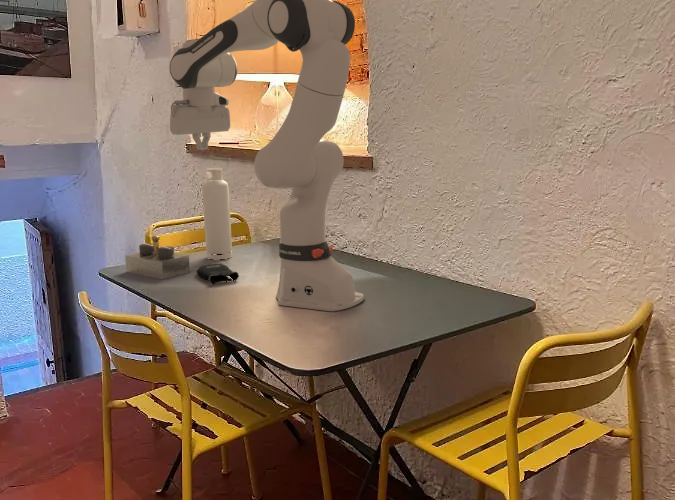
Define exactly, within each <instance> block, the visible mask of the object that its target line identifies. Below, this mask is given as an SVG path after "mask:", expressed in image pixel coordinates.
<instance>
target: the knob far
mask: <svg viewBox="0 0 675 500" xmlns="http://www.w3.org/2000/svg"><path fill="white" fill-rule="evenodd" d="M138 249H139V252H140V255H152V254H154V247H153V242H152V243H146V242H143V243H141V244H139V245H138Z"/></svg>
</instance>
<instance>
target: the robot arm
mask: <svg viewBox="0 0 675 500" xmlns="http://www.w3.org/2000/svg"><path fill="white" fill-rule="evenodd" d="M355 28H356V20H355V16H354V13H353V11H352V9H350V8H349V7H348V6H347V5H346V4H344V3H341V2H339V1H336V0H254V1H253V2H252V3H250V4H249V5H248V6H246V7H245V8H244V9H242V10H241V11H240V12H238V13H236V14H235V15H233V16H232V17H230V18H229V19H226V20H225V21H223V22H221V23H219V24H217V25H216V26H215V27H213V28H212V29H211V30H210V31H209V30H208V32H207V33H206V34H204V35H203V36H201V37H200V38H195V39H188V40H185V42H184V43H183V44H182V47H181V48H179V49H178V50H176V51H175V53H174V54H173V56H172V57H171V60H170V62H169V74H170V75H171V77H172V79H173V81H174V82H175V83H176V84H177V85H178V86H179V87H180V88H182V97H183V99H182V100H174V102H172V104H171V105H170V118H169V128H170V129H169V131H170V132H171V134H172V135H174V136H175V135H176V136H177V135H179V136H181V135H192V139H193V140H194V142H195V143H194V144H196V145H195V148H196V150H198V151H199V150H208V149H209V141H210V139H211V137H212V136H211V133H220V132H229V130H230V128H231V115H230V110H229V107H228V106H229V98H227V97H226V96H223V95H221V94H219V93H218V92H216V91H215V88H224V87H228V86H229V87H230V86H231V85H233V83H234V82H235V80H236V79H237V75H238V65H237V60H236V59H235V57H234V55H233V54H232V53H233V52H234V53H235V52H240V51H260V50H261V51H262V50H266V49H269V48H271V47H274V46H276V45H277V44H278V43H282V44H283V45H284V46H285V47H286V49H288V51H291V52H293V53H294V52H297V51H300V53H301V57H302V62H301V63H302V65H301V67H300V68H301V69H300V72H299V76H298V79H297V82H296V87H295V89H294V90H295V91H294V93H293V97H292V101H291V104H290V107H289V108H290V109H289V111H288V113H287V116H286V118H285V119H284V121H283V123H282V124H281V126H280V127H279V129H278V131H277V132H276V134H275V135H274V136H273V137H272V138H271V140H270V141H268V143H266V145H264V146H263V147H262V148H260V149H259V151H258V152H257V153H256V155H255V157H254V158H255V159H254V167H253V168H254V172H255V176H256V178H257V179H258V180H259V182H260V183H261V185H263V186H264V187H265V188H266V187H267V188H271V189H280V190H281V189H282V190H285V189H286V190H287V189H292V190H291V192H290V196H289V198H288V200H287V201H286V202H285V204H284V205H283V206H282V207H281V209H280V211H279V230H280V231H279V235H280V241H279V242H278V255H279V257H280V270H279V271H280V272H279V280H278V286H277V291H276V295H275V299H277V301H278V302H277V303H278V305H279V306H286V307H293V308H300V309H301V308H302V309H309V310H318V311H326V312H337V311H341V310H345V309H349V308H352V307H355V306H356V305H358V304H360V303H361V302H363V301H364V300H365V297H364V293H361V292H357V291H356V290H355V284H354V283H355V282H354V279H353V278H354V277H353V276H352V274H351V273H350V272H349V271H348V270H347V269H345V268H344V267H343V266H342V265H341V264H340V263H339V262H338V261H337V260H336V259H335V258H334V257H332V252H331V251H334V250H335V245H331V246H329V244H328V242H327V240H326V238H325V237H326V226H325V225H326V223H325V222H326V208H327V203H328V202H327V201H328V198H329V194H330V192H331V188H332V187H333V184H334V183H335V181H336V179H337V177H339V175H340V174H341V173H342V171H343V168H344V162H345V161H344V155H343V151H342V150H341V148H340V146H339V145H338V144H337V143H335V142H333V141H329V140H326V139H322V138H324V137H325V135H326V134H327V133H328V132H330V131H331V130H332V129H333V128H334V126H335V125H336V122H337V120H338V117H339V113H340V110H341V105H342V102H343V99H344V96H345V92H346V88H347V83H348V79H349V74H350V73H349V72H350V65H351V64H350V63H351V53H350V50H349V48H348V46H347V44H348V43H349V42H350V41H351V39H352V38H353V36H354V33H355ZM201 138H202V140H201Z"/></svg>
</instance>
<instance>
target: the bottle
mask: <svg viewBox="0 0 675 500" xmlns="http://www.w3.org/2000/svg"><path fill="white" fill-rule="evenodd" d="M201 188H202V189H201V191H202V206H203V223H204V237H205V238H204V239H205V240H204V241H205V251H206V253H205V257H206V259H207V258H208V259H207V260H209V259H216V260H215V261H221V260H220V259H225V260H229V259H228V258H230V259H232V258H233V244H232V241H233V240H232V229H231V228H232V227H231V223H232V222H231V208H230V206H231V205H230V187H229V183H228V182H227V181H225V180H224V178H223V167H222V168H221V167H211V168H210V167H209V168H206V181H204V182H203V183H202V186H201ZM213 254H222V255H213ZM231 257H232V258H231Z"/></svg>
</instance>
